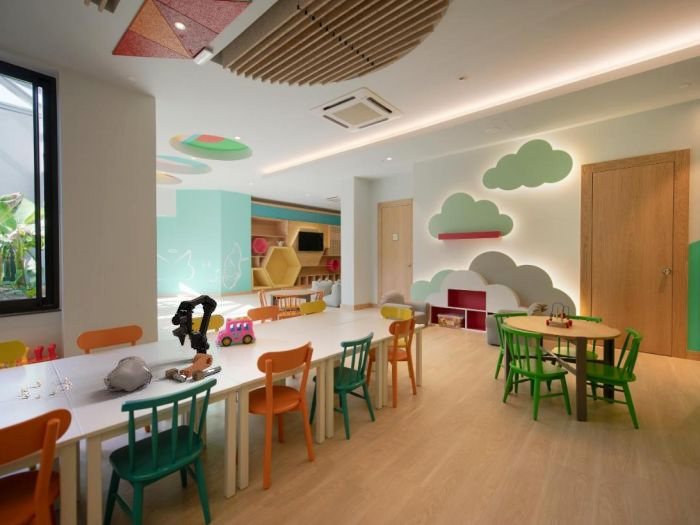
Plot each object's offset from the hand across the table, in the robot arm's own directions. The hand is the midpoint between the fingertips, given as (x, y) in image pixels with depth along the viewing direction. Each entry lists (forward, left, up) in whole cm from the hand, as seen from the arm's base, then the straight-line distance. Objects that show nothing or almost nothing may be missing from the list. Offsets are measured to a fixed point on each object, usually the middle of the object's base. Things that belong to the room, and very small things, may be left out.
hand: (187, 347), depth 197 cm
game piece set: (-27, -58, -13) cm, 65 cm away
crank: (+10, -1, -12) cm, 16 cm away
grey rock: (+5, -35, -12) cm, 37 cm away
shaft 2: (+22, -2, -12) cm, 26 cm away
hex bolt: (+13, -14, -12) cm, 23 cm away
